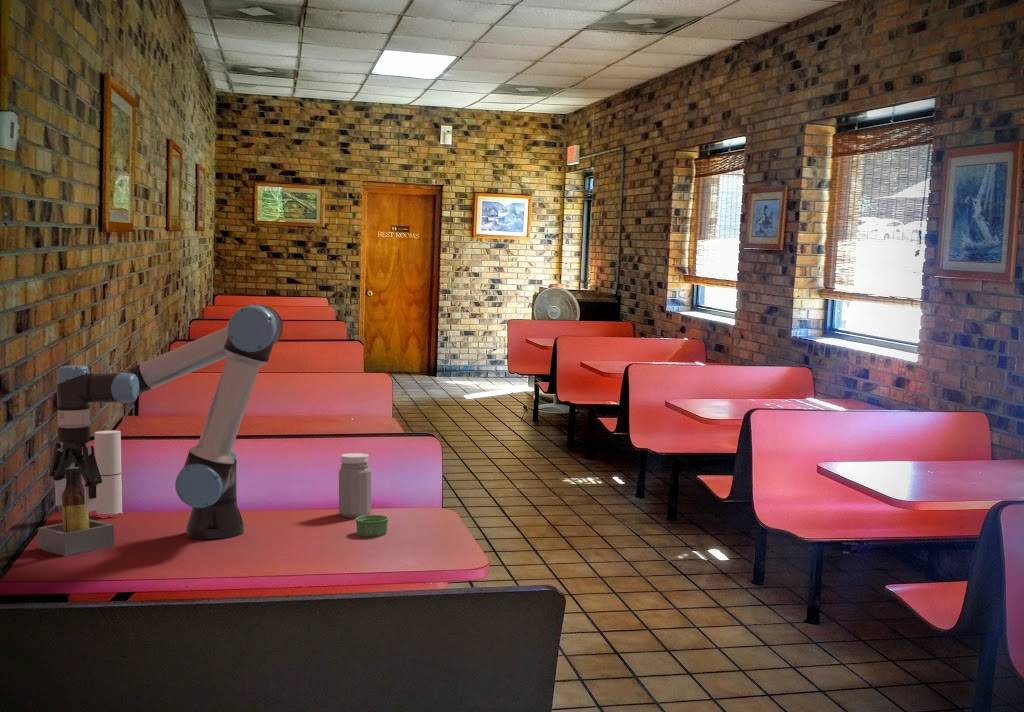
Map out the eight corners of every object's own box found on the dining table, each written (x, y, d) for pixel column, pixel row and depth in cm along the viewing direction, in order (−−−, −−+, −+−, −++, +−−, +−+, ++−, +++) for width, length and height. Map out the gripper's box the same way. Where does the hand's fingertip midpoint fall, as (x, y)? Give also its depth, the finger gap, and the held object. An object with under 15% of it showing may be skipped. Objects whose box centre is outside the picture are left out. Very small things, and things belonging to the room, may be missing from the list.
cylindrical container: (116, 518, 289) (114, 433, 288) (92, 518, 289) (90, 433, 288) (126, 513, 296) (124, 430, 295) (102, 513, 297) (100, 430, 295)
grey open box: (114, 545, 257) (113, 524, 256) (65, 556, 246) (64, 534, 245) (87, 539, 264) (86, 518, 263) (38, 549, 253) (37, 527, 253)
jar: (335, 512, 297) (334, 453, 296) (367, 510, 301) (366, 451, 300) (342, 519, 288) (342, 458, 287) (375, 516, 292) (375, 456, 291)
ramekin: (395, 533, 271) (395, 517, 271) (369, 539, 264) (369, 523, 264) (374, 528, 277) (374, 513, 277) (348, 534, 270) (348, 518, 270)
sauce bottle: (95, 542, 256) (93, 466, 255) (75, 548, 251) (74, 470, 250) (76, 540, 259) (75, 465, 258) (57, 545, 253) (55, 468, 252)
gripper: (33, 423, 257) (35, 504, 258) (87, 430, 243) (89, 516, 244) (61, 421, 263) (62, 499, 264) (115, 427, 249) (117, 511, 250)
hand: (75, 508), depth 254 cm, fingers open, 13 cm apart
